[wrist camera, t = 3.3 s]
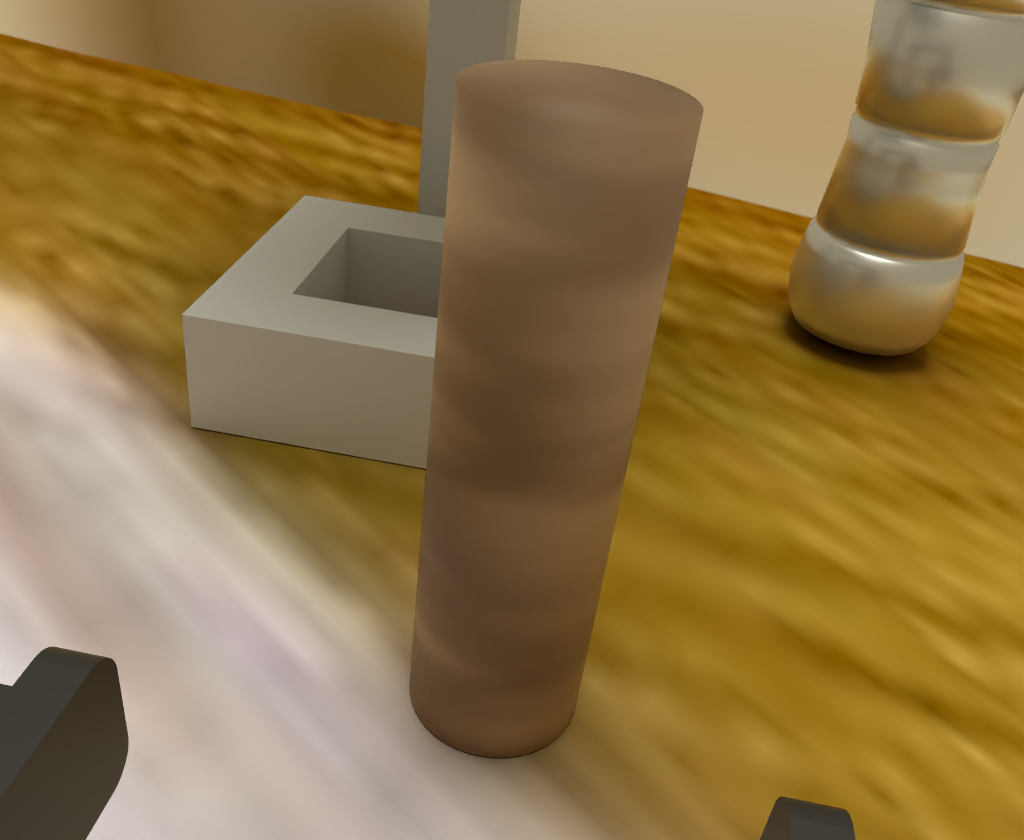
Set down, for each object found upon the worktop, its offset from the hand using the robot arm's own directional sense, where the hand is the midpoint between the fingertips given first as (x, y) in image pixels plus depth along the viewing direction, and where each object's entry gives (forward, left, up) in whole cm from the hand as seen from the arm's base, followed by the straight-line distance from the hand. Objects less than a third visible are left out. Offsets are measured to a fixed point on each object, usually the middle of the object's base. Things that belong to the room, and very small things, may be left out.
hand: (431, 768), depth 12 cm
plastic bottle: (-3, +34, -8) cm, 35 cm away
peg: (-4, +8, -8) cm, 12 cm away
